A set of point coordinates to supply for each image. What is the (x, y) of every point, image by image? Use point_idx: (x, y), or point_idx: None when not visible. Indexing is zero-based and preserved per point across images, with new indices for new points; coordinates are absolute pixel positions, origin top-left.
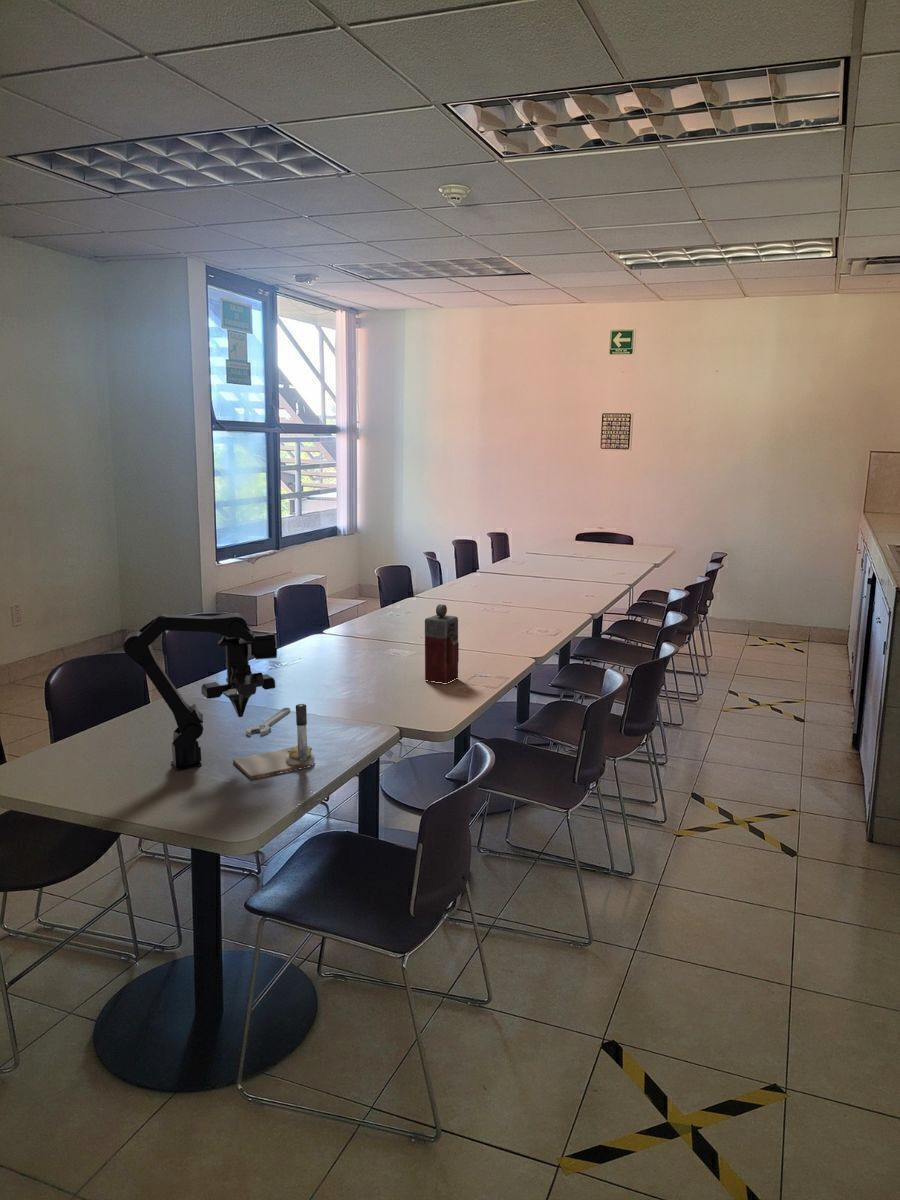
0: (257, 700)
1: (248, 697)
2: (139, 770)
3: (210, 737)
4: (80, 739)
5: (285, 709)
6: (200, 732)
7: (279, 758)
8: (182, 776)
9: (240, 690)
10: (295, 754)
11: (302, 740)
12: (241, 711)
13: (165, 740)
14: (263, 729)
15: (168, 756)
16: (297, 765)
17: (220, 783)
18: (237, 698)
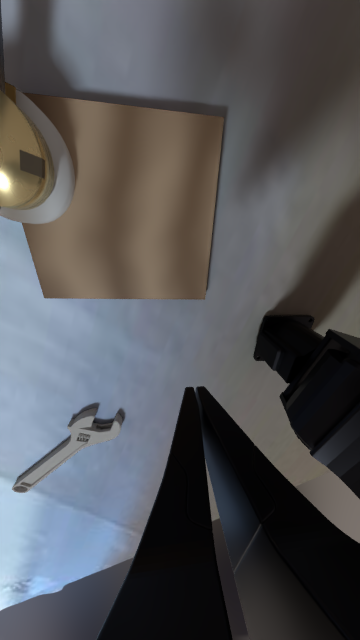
0: (67, 520)
1: (146, 580)
2: None
3: None
4: (316, 473)
5: (23, 488)
6: (339, 359)
7: (89, 230)
8: (323, 281)
9: None
10: (12, 102)
11: None
12: (199, 411)
13: None
14: (85, 424)
15: (278, 387)
16: (37, 103)
17: (296, 167)
18: (335, 578)
